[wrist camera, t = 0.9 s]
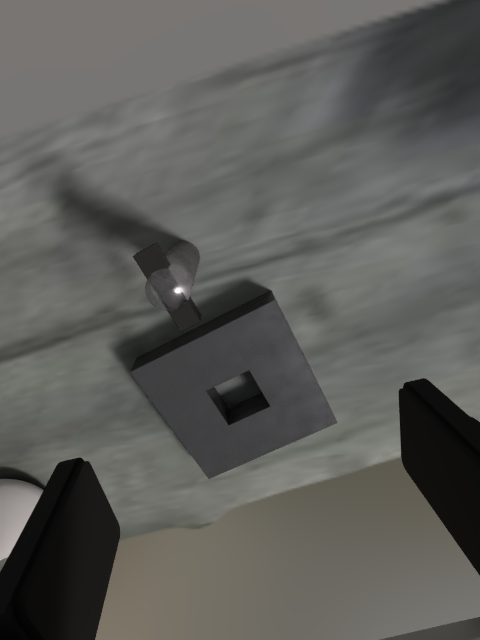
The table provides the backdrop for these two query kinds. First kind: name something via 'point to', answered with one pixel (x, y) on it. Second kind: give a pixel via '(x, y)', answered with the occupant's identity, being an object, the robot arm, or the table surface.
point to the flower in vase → (15, 511)
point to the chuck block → (224, 364)
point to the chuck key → (171, 280)
